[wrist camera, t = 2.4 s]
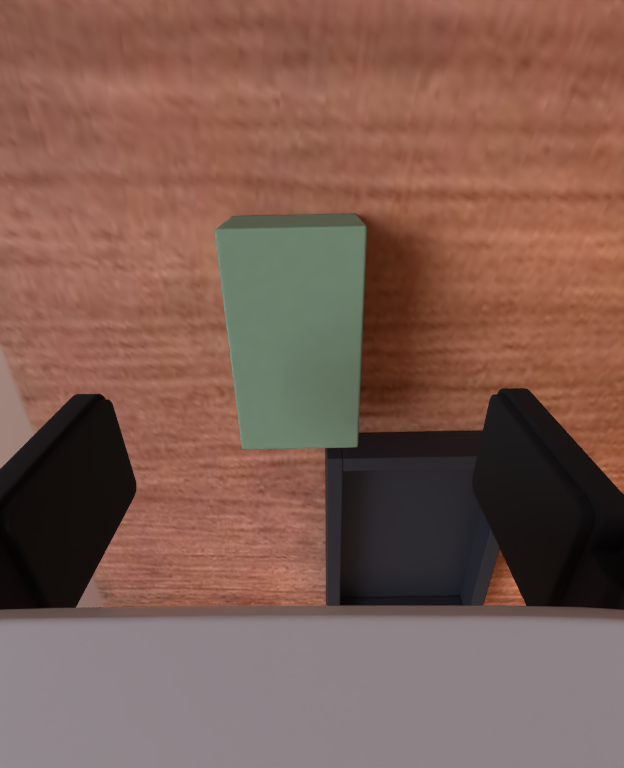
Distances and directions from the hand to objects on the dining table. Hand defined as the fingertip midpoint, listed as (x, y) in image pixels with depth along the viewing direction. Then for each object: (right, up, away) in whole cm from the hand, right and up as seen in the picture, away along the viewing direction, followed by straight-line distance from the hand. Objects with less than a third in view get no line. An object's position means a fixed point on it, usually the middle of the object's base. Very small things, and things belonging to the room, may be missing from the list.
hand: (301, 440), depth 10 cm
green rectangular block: (0, +4, +8) cm, 9 cm away
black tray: (+6, -7, +14) cm, 17 cm away
